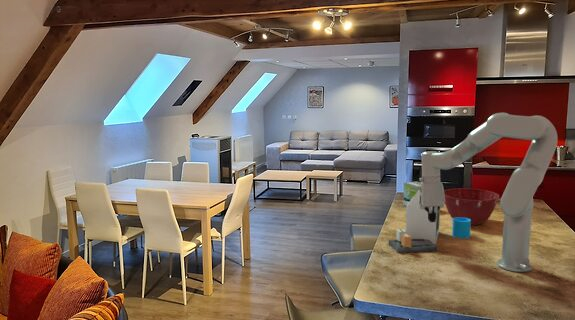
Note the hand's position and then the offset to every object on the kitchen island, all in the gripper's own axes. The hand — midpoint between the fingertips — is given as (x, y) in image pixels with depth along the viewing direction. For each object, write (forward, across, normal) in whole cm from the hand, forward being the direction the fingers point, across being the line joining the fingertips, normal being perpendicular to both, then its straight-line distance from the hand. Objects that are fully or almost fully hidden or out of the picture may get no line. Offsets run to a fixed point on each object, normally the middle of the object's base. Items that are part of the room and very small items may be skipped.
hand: (432, 221), depth 201 cm
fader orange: (+10, -11, +1) cm, 15 cm away
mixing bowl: (+13, +39, +42) cm, 59 cm away
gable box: (+13, +4, +20) cm, 24 cm away
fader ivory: (+10, -11, +9) cm, 18 cm away
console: (+13, -7, +5) cm, 15 cm away
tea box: (+11, +24, +76) cm, 81 cm away
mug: (+14, +24, +20) cm, 34 cm away
